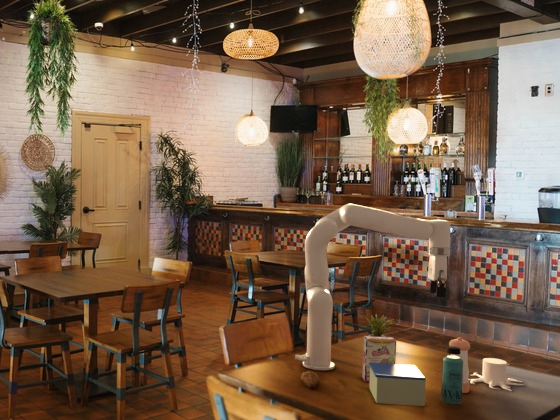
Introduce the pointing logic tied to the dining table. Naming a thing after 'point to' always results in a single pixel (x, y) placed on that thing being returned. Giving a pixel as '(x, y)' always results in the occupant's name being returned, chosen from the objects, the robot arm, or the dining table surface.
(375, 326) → the house plant
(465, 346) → the pepper shaker
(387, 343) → the candy bar box
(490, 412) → the dining table surface
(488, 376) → the tree stump
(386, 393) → the container
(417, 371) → the container lid
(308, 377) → the croissant
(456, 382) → the beverage bottle
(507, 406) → the dining table surface
